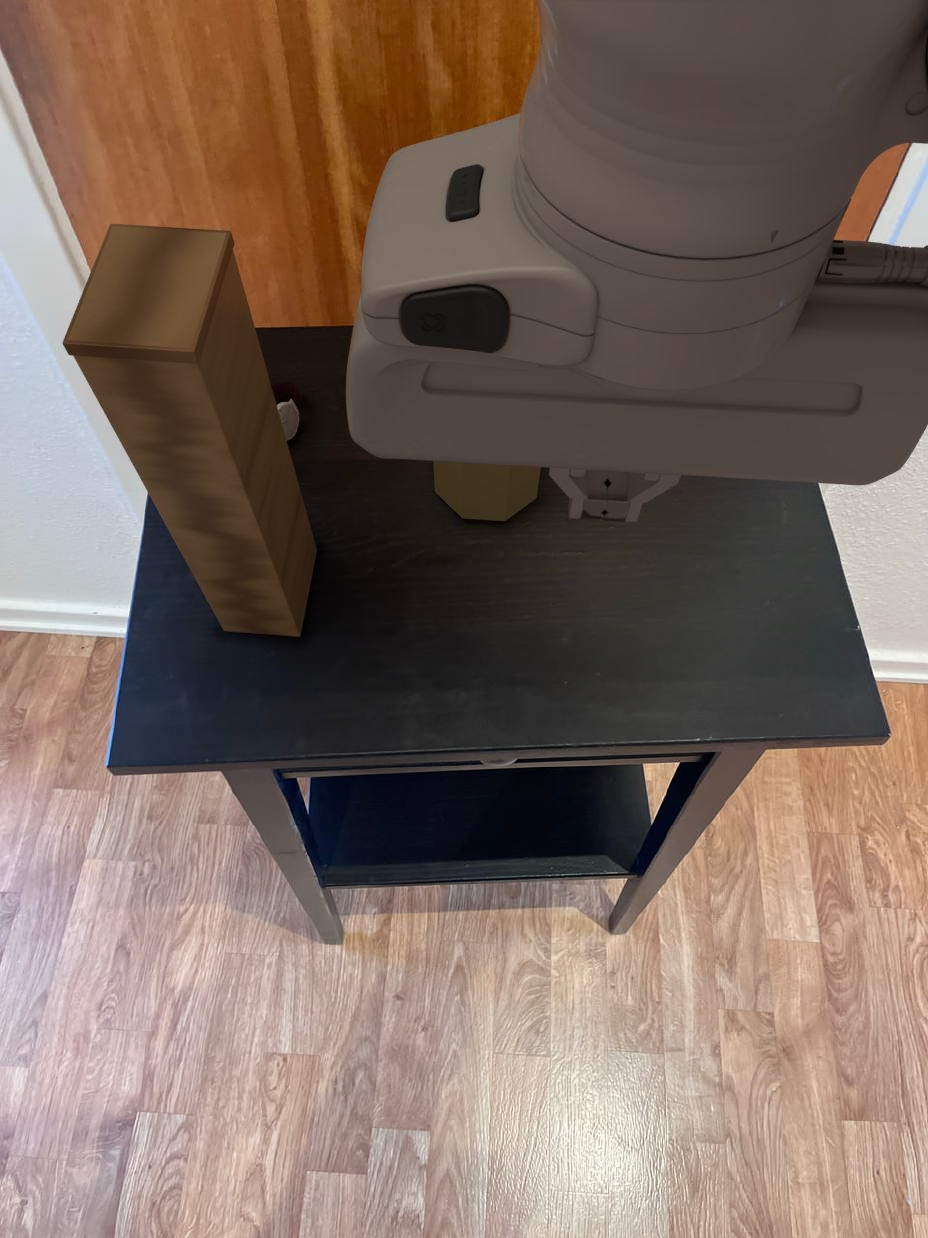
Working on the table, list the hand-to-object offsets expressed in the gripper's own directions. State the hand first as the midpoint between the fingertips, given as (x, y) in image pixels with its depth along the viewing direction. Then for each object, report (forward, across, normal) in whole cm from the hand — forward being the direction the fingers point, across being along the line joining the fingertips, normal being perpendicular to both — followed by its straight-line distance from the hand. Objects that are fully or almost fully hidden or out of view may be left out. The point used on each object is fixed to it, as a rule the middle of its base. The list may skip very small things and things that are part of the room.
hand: (601, 507), depth 37 cm
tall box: (+28, +22, -10) cm, 37 cm away
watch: (+29, +25, -26) cm, 46 cm away
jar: (+29, +6, -22) cm, 37 cm away
